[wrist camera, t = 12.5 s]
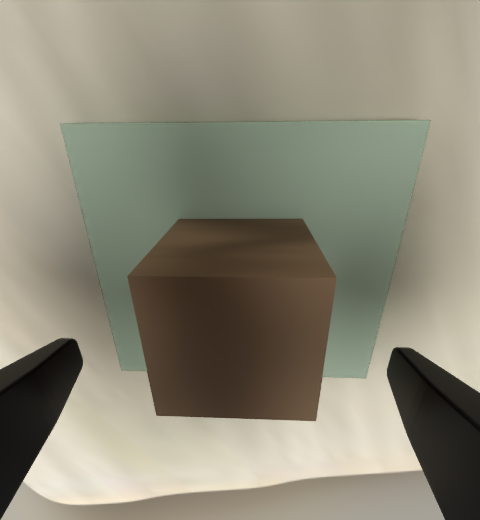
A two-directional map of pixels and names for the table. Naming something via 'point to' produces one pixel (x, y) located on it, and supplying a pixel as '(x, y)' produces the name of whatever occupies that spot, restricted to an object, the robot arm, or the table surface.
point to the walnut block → (235, 318)
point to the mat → (252, 205)
